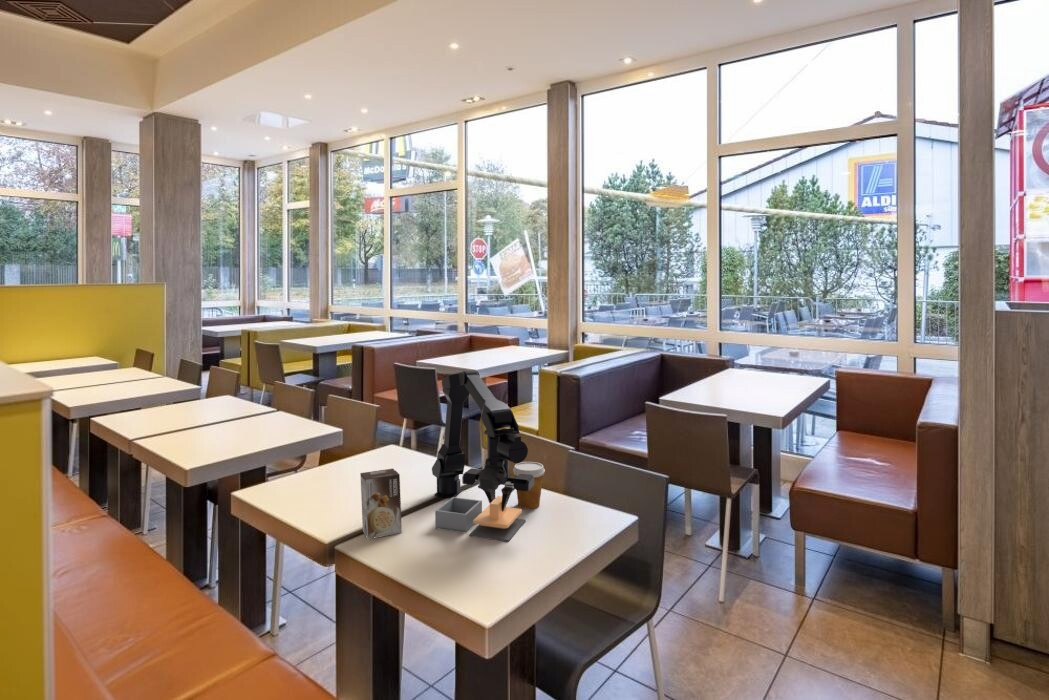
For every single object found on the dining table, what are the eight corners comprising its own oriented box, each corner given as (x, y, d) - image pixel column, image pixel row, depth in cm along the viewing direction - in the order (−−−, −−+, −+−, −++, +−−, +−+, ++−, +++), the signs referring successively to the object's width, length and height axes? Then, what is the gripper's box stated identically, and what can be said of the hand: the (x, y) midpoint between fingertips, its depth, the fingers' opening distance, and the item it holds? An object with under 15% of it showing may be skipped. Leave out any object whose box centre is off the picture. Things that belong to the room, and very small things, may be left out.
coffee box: (395, 524, 162) (394, 467, 161) (402, 533, 157) (401, 474, 155) (361, 530, 158) (360, 472, 157) (367, 540, 153) (365, 479, 151)
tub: (435, 528, 160) (435, 510, 159) (452, 513, 170) (452, 496, 170) (466, 533, 157) (466, 514, 156) (482, 517, 167) (481, 500, 167)
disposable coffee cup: (545, 500, 181) (546, 461, 180) (543, 511, 172) (543, 471, 171) (514, 498, 182) (514, 460, 181) (511, 510, 173) (511, 470, 172)
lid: (473, 526, 156) (473, 505, 155) (489, 510, 167) (489, 491, 166) (507, 531, 153) (507, 510, 152) (521, 514, 164) (521, 495, 163)
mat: (469, 536, 155) (469, 534, 155) (488, 516, 168) (488, 514, 168) (508, 541, 152) (508, 539, 152) (525, 521, 165) (525, 519, 165)
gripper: (453, 458, 153) (453, 517, 155) (521, 465, 147) (521, 526, 149) (470, 447, 164) (470, 502, 165) (535, 453, 158) (534, 510, 159)
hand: (498, 510), depth 159 cm, fingers closed on lid, 2 cm apart
